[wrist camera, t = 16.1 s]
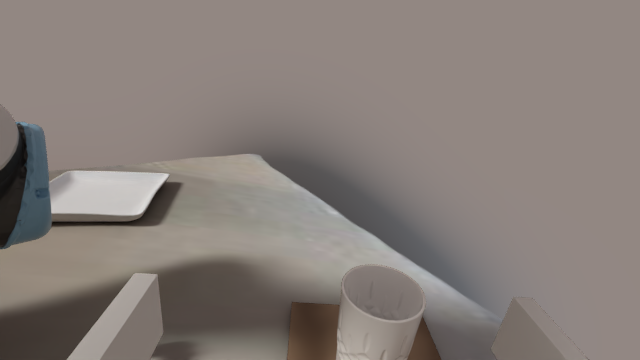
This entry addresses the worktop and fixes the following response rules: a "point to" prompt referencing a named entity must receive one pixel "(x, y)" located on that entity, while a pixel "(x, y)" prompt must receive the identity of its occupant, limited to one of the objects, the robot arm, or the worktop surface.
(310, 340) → the walnut board
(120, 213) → the salad plate
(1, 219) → the robot arm
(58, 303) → the worktop surface
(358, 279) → the white cup
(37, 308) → the worktop surface
